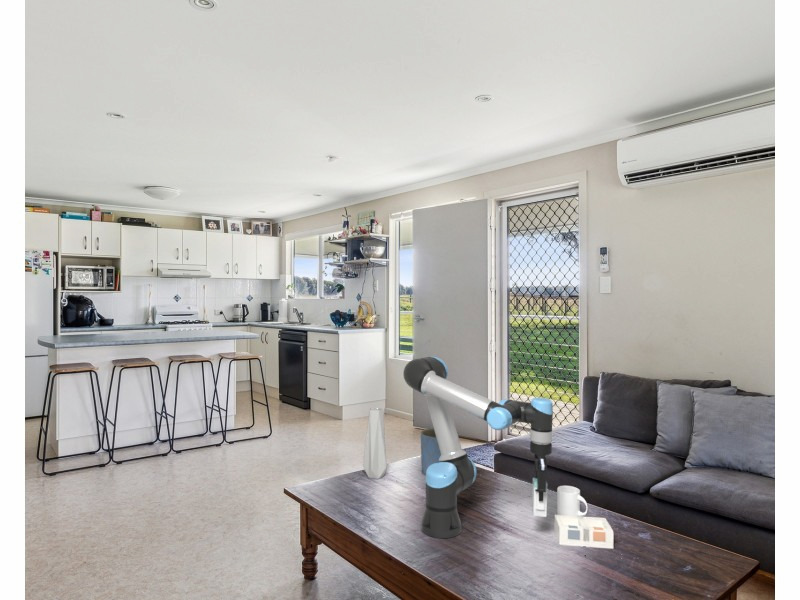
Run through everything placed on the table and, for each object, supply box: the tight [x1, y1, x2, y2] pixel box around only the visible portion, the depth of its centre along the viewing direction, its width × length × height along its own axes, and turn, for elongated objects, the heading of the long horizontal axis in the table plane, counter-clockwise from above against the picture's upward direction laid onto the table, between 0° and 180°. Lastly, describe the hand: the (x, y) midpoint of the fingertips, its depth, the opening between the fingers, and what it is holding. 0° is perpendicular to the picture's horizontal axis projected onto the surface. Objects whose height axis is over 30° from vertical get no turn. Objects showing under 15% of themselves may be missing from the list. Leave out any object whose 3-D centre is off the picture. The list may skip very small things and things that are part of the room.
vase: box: [362, 407, 387, 480], centre depth 245 cm, size 12×12×33 cm
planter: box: [420, 427, 460, 477], centre depth 252 cm, size 19×19×20 cm
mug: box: [556, 485, 588, 517], centre depth 199 cm, size 9×12×11 cm
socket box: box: [554, 514, 614, 550], centre depth 180 cm, size 18×11×6 cm, turn 82°
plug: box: [531, 477, 548, 518], centre depth 181 cm, size 5×5×12 cm
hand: (539, 506), depth 181 cm, fingers closed on plug, 4 cm apart
